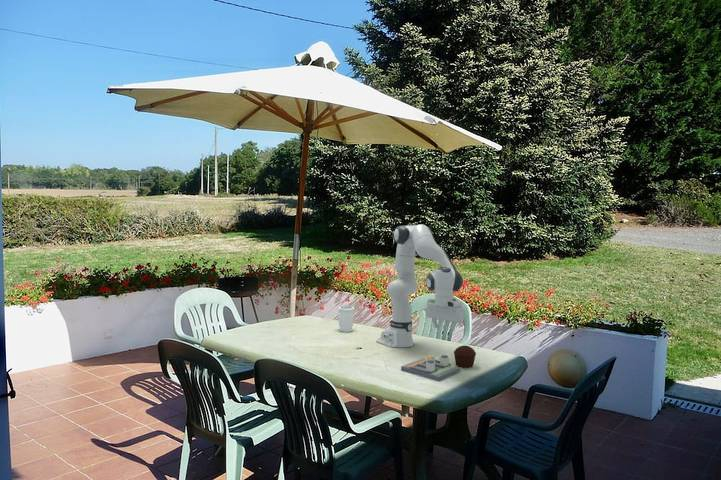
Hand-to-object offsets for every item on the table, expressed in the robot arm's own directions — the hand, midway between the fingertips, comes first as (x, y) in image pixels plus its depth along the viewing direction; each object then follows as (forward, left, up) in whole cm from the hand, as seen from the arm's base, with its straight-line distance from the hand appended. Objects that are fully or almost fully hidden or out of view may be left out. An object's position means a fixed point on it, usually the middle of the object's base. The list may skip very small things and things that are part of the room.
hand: (444, 329), depth 256 cm
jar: (-91, +26, -22) cm, 97 cm away
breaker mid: (-6, -2, -19) cm, 20 cm away
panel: (-6, -2, -22) cm, 23 cm away
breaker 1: (-2, -8, -19) cm, 21 cm away
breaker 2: (-2, +4, -19) cm, 20 cm away
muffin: (+1, +18, -22) cm, 28 cm away
